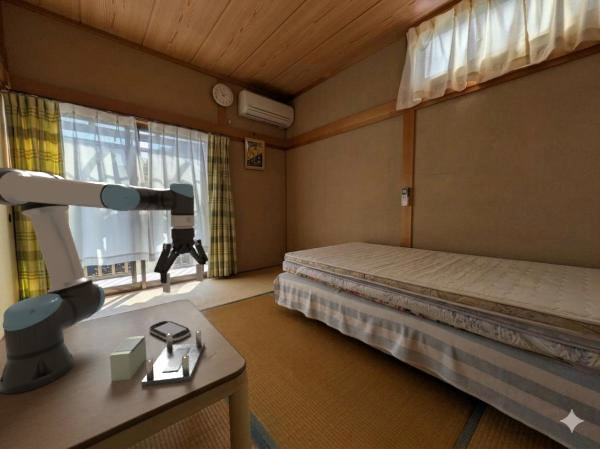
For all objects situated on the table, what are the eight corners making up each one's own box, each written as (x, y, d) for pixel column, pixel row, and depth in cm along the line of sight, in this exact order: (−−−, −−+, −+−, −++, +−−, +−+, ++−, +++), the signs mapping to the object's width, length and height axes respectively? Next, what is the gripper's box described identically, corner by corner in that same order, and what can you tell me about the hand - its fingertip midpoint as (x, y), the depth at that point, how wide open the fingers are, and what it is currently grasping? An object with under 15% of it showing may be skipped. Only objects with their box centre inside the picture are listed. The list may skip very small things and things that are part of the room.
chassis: (141, 386, 67) (140, 364, 67) (166, 349, 85) (165, 332, 85) (190, 381, 69) (189, 359, 69) (204, 346, 87) (204, 329, 87)
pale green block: (111, 381, 70) (109, 355, 69) (130, 360, 80) (128, 336, 79) (130, 379, 71) (128, 353, 70) (146, 358, 80) (145, 335, 80)
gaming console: (145, 332, 98) (145, 326, 98) (167, 323, 106) (166, 318, 105) (173, 346, 88) (172, 339, 88) (194, 334, 96) (194, 328, 96)
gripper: (155, 230, 71) (157, 299, 72) (217, 225, 93) (217, 278, 95) (139, 229, 74) (142, 295, 76) (203, 225, 97) (204, 276, 98)
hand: (184, 286), depth 85 cm, fingers open, 13 cm apart
